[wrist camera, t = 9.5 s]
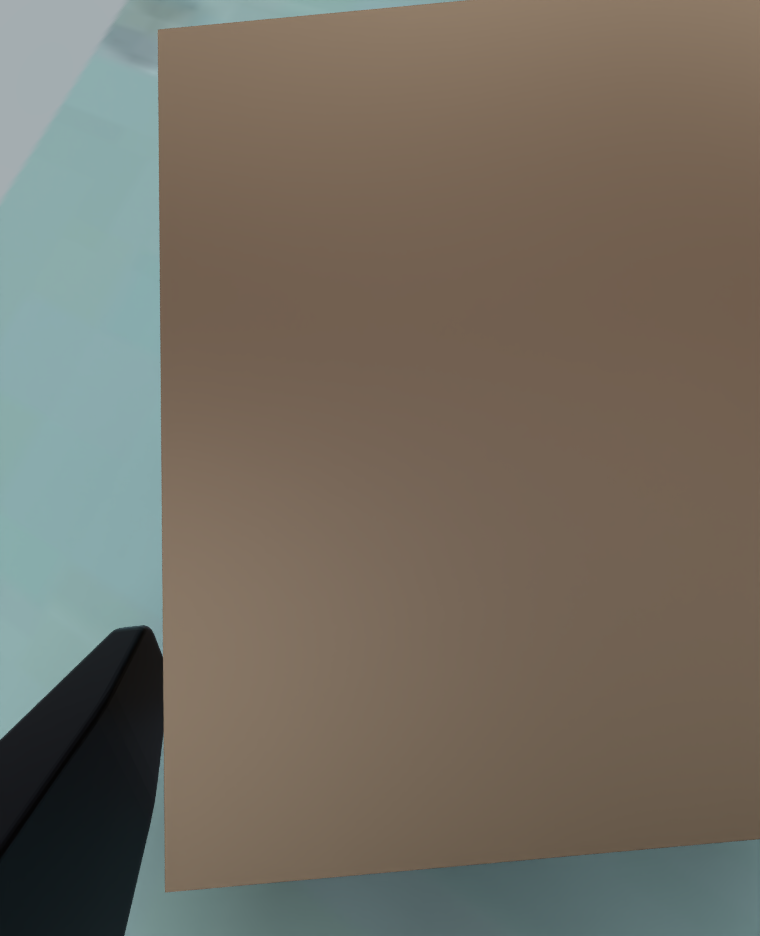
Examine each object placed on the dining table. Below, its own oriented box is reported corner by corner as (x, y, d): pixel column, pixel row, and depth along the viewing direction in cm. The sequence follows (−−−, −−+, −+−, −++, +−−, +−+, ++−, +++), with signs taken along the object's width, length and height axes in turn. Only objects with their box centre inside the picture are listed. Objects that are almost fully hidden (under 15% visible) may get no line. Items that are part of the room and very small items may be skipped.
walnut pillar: (556, 655, 16) (1235, 796, 3) (352, 673, 16) (164, 890, 3) (527, 457, 17) (924, -43, 4) (337, 474, 17) (157, 30, 4)
